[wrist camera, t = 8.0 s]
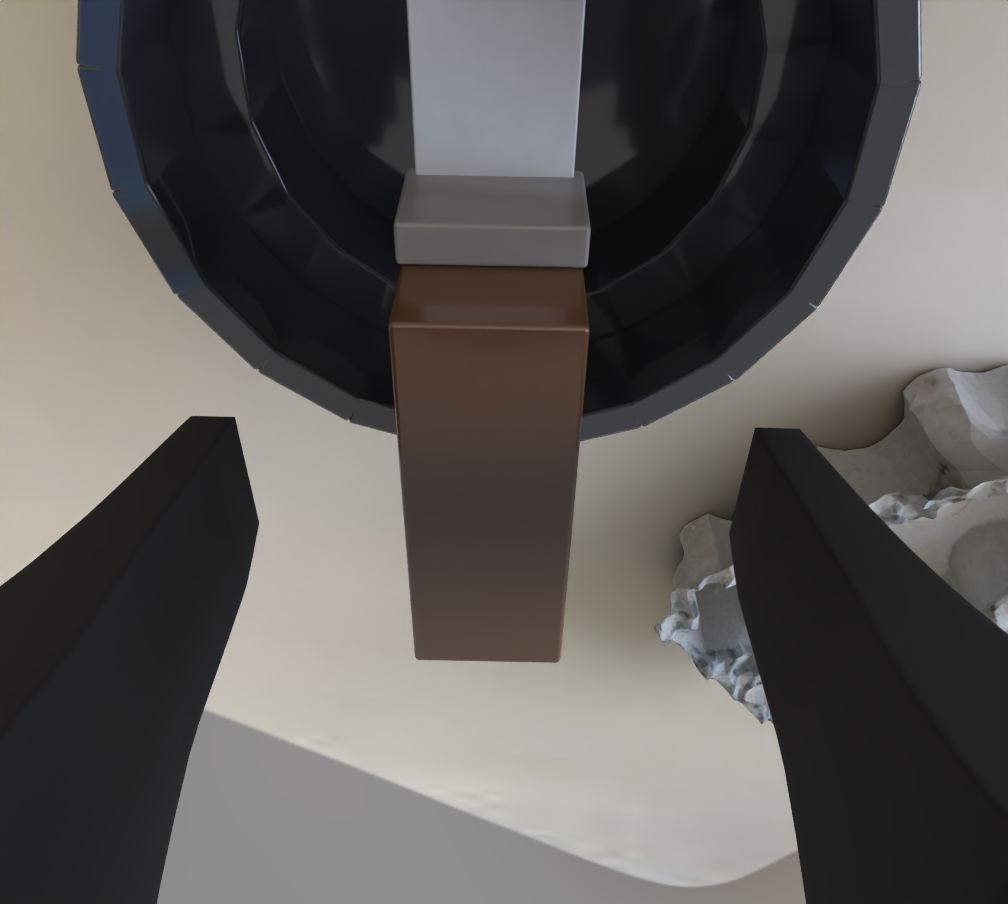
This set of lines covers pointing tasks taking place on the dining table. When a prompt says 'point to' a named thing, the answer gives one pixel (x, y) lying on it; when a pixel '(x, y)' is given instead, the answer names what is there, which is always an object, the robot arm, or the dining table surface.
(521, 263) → the knife
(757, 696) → the egg carton
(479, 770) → the dining table surface
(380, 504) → the dining table surface
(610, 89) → the bowl
